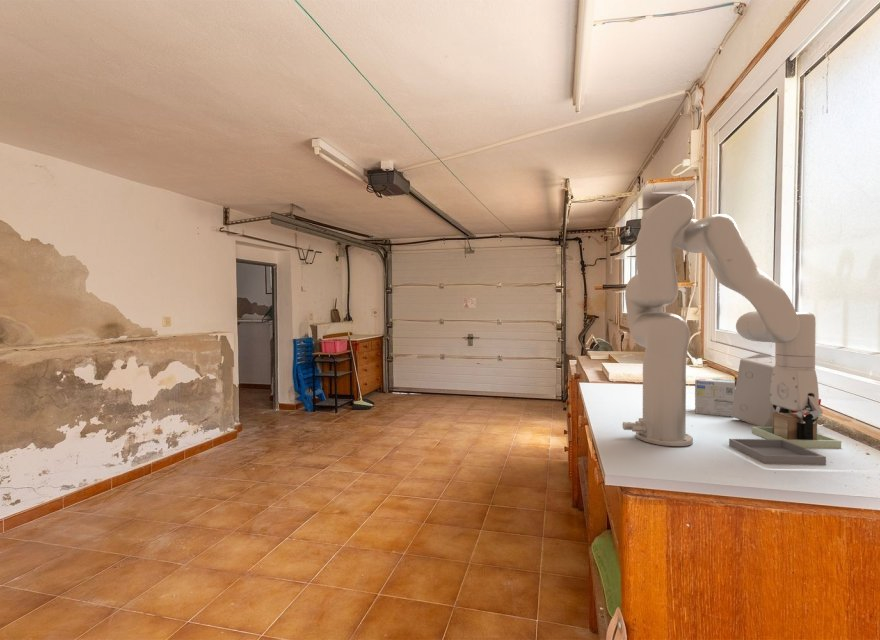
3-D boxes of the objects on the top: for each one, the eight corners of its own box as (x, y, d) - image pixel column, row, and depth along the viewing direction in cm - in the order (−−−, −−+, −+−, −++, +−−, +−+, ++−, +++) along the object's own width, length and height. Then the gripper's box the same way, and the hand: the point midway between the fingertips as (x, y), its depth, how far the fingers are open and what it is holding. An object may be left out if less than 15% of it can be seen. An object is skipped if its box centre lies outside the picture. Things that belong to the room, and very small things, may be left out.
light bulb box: (734, 413, 135) (735, 379, 134) (735, 417, 129) (736, 382, 129) (695, 409, 140) (695, 376, 140) (694, 413, 135) (694, 379, 135)
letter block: (789, 443, 102) (789, 417, 102) (771, 436, 108) (772, 411, 108) (816, 443, 101) (817, 418, 101) (797, 436, 107) (797, 412, 107)
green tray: (786, 448, 99) (786, 440, 99) (752, 434, 111) (752, 426, 111) (841, 449, 98) (841, 441, 98) (800, 435, 110) (800, 427, 110)
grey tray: (764, 465, 88) (764, 455, 88) (729, 447, 100) (729, 438, 100) (825, 466, 88) (826, 456, 88) (782, 448, 100) (782, 439, 99)
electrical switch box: (786, 442, 111) (800, 368, 108) (729, 420, 125) (740, 354, 122) (820, 436, 117) (834, 365, 114) (762, 416, 130) (773, 352, 127)
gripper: (754, 358, 113) (754, 426, 113) (806, 366, 96) (805, 446, 96) (784, 358, 113) (784, 426, 113) (841, 366, 95) (841, 447, 96)
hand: (794, 435), depth 105 cm, fingers closed on letter block, 6 cm apart
